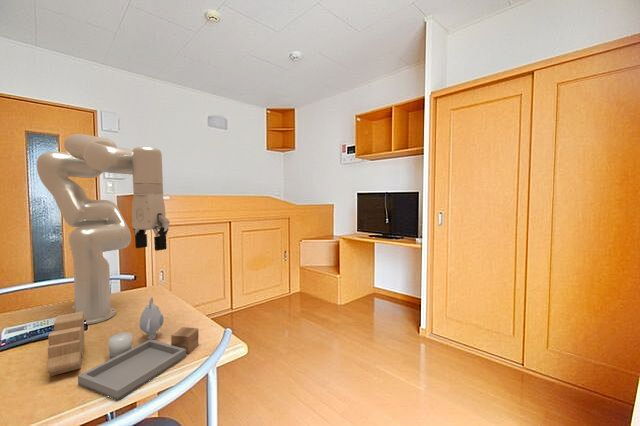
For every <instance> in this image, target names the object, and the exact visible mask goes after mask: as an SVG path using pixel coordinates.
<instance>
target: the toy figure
mask: <svg viewBox="0 0 640 426" xmlns="http://www.w3.org/2000/svg"><path fill="white" fill-rule="evenodd" d="M138 324H139V329H140V330H141V331H142V332H143V333H145V334H147V335H148V336H147V339H148V340H150V339H151V340H155V339H156V336H157V335H158V331H159V330H160V329H161V328H162V326H163V325H164V316H163V314H162V312H161V310H160V307H159V306H158V305H157V304H154V297H153V296H151V297H150V299H149V301H148V305H146V306H145V307H144V309H143V311H142V312H141V315H140V318H139V323H138Z"/></svg>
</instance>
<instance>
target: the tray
mask: <svg viewBox="0 0 640 426" xmlns="http://www.w3.org/2000/svg"><path fill="white" fill-rule="evenodd" d="M185 358H187V354H186V349H184V348H180V347H177V346H173V345H171V344H168V343H166V342H162V341H158V340H155V339H153V340H151V339H150V340H149V339H148V340H146V341H144V342H143V343H140V344H138V345H136V346H134V347H132V349H130V350H128V351H126V352H124V353H122V354H120V355H118V356H116V357H114V358H112V359H108V360H106V361H105V362H102V363H100V364H99V365H96V366H94V367H92V368H90V369H88V370H86V371H84V372H83V373H80V374H78V375H77V385H78V386H79V387H82V388H84V389H86V390H89V391H92V392H94V393H97V394H98V395H101V394H102V396H104V395H105V396H104V397H106V396H109V397H111V398H113V399H112V400H114V399H115V400H114V401H116V402H119V401H120V400H122V399H123V398H124V399H125V398H126V396H128V395H131V394H132V393H133V392H135V391H136V390H138V389H139V388H141V387H142V386H144V385H145V384H147V383H148V382H149V380H150V381H151V380H153V379H154V377H155V378H156V377H158V376H159V375H161V374H162V373H164V372H165V371H167V370H168V368H169V369H170V368H172V367H173V366H174V365H177V364H178V363H179V362H181V361H182V360H185ZM160 373H161V374H160ZM157 375H158V376H157ZM146 382H147V383H146ZM144 383H145V384H144ZM143 384H144V385H143ZM140 386H141V387H140ZM137 388H138V389H137ZM135 389H136V390H135ZM109 397H108V398H109ZM111 398H110V399H111Z"/></svg>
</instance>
